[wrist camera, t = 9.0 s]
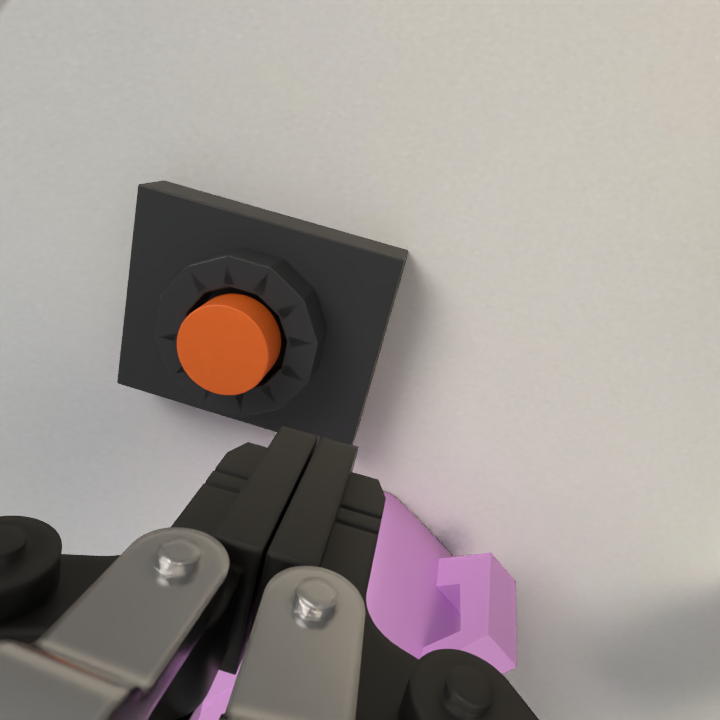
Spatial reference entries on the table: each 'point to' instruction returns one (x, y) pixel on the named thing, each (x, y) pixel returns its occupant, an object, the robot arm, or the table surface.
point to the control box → (272, 289)
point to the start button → (229, 344)
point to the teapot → (425, 600)
